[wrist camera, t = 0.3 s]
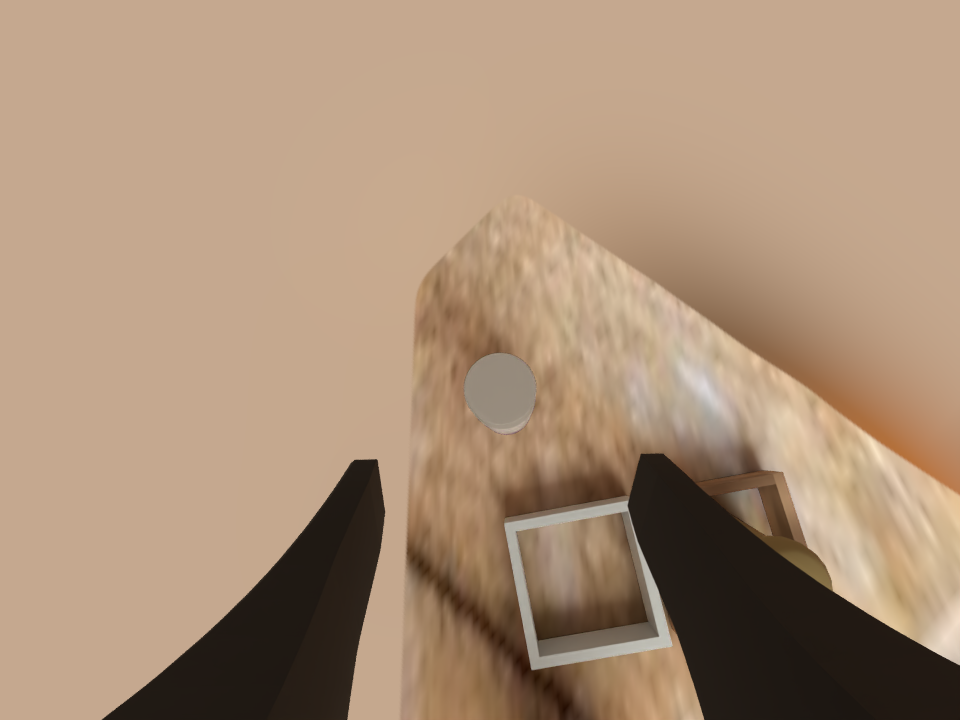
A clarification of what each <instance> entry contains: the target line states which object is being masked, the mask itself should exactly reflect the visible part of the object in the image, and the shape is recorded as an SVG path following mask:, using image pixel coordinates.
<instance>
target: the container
mask: <svg viewBox="0 0 960 720" xmlns="http://www.w3.org/2000/svg"><path fill="white" fill-rule="evenodd" d="M464 396H465V400H466V402H467V405H468V406H469V408H470V410H471V411H472V412H473V413H474V415H475V416H476V417H477V418H478V420H479V421H480V422H482V423H483V424H484V425H485V426H487V427H488V428H490V429H491V430H492V431H494V432H496V433H499V434H504V435H509V434H514V433H516V432H518V431H520V430H521V429H523V428H524V427H525V425H526V424H527V423H528V421H529V418H530V416H531V414H532V411H533V409H534V405H535V398H536V381H535V377H534V375H533V372H532V371H531V369H530V368H529V366H528V365H527V364H526V363H525V362H524V361H523V360H521V359H520V358H518V357H516V356H514V355H511V354H508V353H493V354H489V355H486V356H484V357H482V358H480V359H479V360H478V361H476V362H475V363H474V364H473V365H472V367H471V368H470V369H469V371H468V373H467V375H466V378H465V382H464Z"/></svg>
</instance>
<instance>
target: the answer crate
mask: <svg viewBox="0 0 960 720" xmlns="http://www.w3.org/2000/svg"><path fill="white" fill-rule="evenodd" d="M629 498H630V497H629V496H627V495H626V496H621V497H615V498H610V499H605V500H599V501H594V502H588V503H583V504H577V505H572V506H567V507H561V508H556V509H550V510H545V511H539V512H534V513H529V514H523V515H518V516H512V517H507V518H505V520H504V526H505V532H506V537H507V542H508V548H509V553H510V558H511V563H512V569H513V574H514V579H515V585H516V590H517V595H518V601H519V606H520V611H521V617H522V622H523V627H524V633H525V638H526V643H527V649H528V654H529V659H530V665H531V670H536V669H542V668H548V667H554V666H560V665H566V664H571V663H577V662H583V661H589V660H595V659H601V658H607V657H613V656H619V655H625V654H631V653H637V652H643V651H649V650H655V649H661V648H667V647H672V642H671V638H670V634H669V630H668V626H667V622H666V618H665V615H664V611H663V607H662V603H661V599H660V595H659V591H658V588H657V586H656V584H655V581H654V579H653V577H652V574H651V572H650V570H649V567H648V565H647V563H646V560H645V558H644V555H643V553H642V551H641V548H640V546H639V543H638V541H637V538H636V534H635V531H634V528H633V524H632V521H631V517H630V513H629V510H628V506H627V505H628V501H629ZM620 512H621V513H622V518H623V522H624V526H625V530H626V534H627V538H628V542H629V546H630V550H631V554H632V559H633V563H634V567H635V571H636V575H637V579H638V583H639V587H640V591H641V595H642V599H643V604H644V608H645V612H646V616H647V620H648V622H644V623H638V624H632V625H626V626H620V627H615V628H609V629H603V630H597V631H591V632H585V633H580V634H574V635H568V636H562V637H556V638H550V639H545V640H539V641H538V639H537V634H536V629H535V624H534V619H533V614H532V608H531V603H530V598H529V593H528V588H527V583H526V577H525V572H524V567H523V562H522V557H521V551H520V546H519V541H518V536H517V531H522V530H527V529H533V528H538V527H544V526H549V525H555V524H560V523H566V522H571V521H577V520H582V519H588V518H593V517H599V516H604V515H609V514H615V513H620Z"/></svg>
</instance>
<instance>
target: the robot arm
mask: <svg viewBox="0 0 960 720" xmlns="http://www.w3.org/2000/svg"><path fill="white" fill-rule="evenodd" d="M627 506H628V510H629V513H630V517H631V521H632V524H633V528H634V531H635V534H636V538H637V541H638V543H639V546H640V548H641V551H642V553H643V555H644V558H645V560H646V563H647V565H648V567H649V570H650V572H651V574H652V577H653V579H654V581H655V584H656V586H657V588H658V591H659V593H660V595H661V598H662V600H663V602H664V604H665V607H666V609H667V611H668V614H669V616H670V618H671V621H672V623H673V626H674V628H675V631H676V633H677V636H678V638H679V641H680V644H681V647H682V650H683V653H684V656H685V659H686V662H687V665H688V668H689V671H690V674H691V677H692V680H693V683H694V687H695V690H696V693H697V697H698V700H699V703H700V706H701V710H702V713H703V716H704V720H960V665H958V664H956V663H954V662H952V661H950V660H948V659H946V658H944V657H942V656H940V655H939V654H937V653H935V652H933V651H931V650H929V649H928V648H926V647H924V646H922V645H921V644H919V643H917V642H915V641H914V640H912V639H910V638H908V637H907V636H905V635H903V634H901V633H899V632H898V631H896V630H894V629H893V628H891V627H889V626H887V625H886V624H884V623H882V622H881V621H879V620H877V619H876V618H874V617H872V616H871V615H869V614H867V613H866V612H864V611H863V610H861V609H860V608H858V607H856V606H855V605H853V604H852V603H850V602H849V601H847V600H845V599H844V598H842V597H841V596H839V595H838V594H836V593H834V592H833V591H831V590H830V589H828V588H827V587H825V586H824V585H822V584H821V583H819V582H818V581H816V580H815V579H814V578H812V577H811V576H809V575H808V574H807V573H805V572H804V571H802V570H801V569H800V568H798V567H797V566H795V565H794V564H793V563H791V562H790V561H788V560H787V559H786V558H784V557H783V556H782V555H780V554H779V553H778V552H776V551H775V550H774V549H772V548H771V547H770V546H768V545H767V544H766V543H765V542H763V541H762V540H761V539H760V538H758V537H757V536H756V535H755V534H753V533H752V532H751V531H750V530H748V529H747V528H746V527H745V526H744V525H742V524H741V523H740V522H739V521H738V520H736V519H735V518H734V517H733V516H732V515H731V514H729V513H728V512H727V511H726V510H725V509H724V508H722V507H721V506H720V505H719V504H718V503H717V502H716V501H715V500H713V499H712V498H711V497H710V496H709V495H708V494H707V493H706V492H704V491H703V490H702V489H701V488H700V487H699V486H698V485H697V484H696V483H695V482H694V481H692V480H691V479H690V478H689V477H688V476H687V475H686V474H685V473H684V472H683V471H682V470H681V469H679V468H678V467H677V466H676V465H675V464H674V463H673V462H672V461H671V460H670V459H668V458H667V457H666V456H665V455H664V454H641V456H640V460H639V463H638V467H637V471H636V475H635V479H634V482H633V486H632V490H631V494H630V498H629V501H628V505H627ZM384 517H385V508H384V501H383V495H382V488H381V481H380V474H379V467H378V460H377V459H375V460H354V461H353V462H352V463H351V464H350V465H349V467H348V469H347V470H346V472H345V473H344V475H343V476H342V478H341V480H340V481H339V482H338V484H337V485H336V487H335V488H334V490H333V491H332V493H331V494H330V495H329V497H328V498H327V500H326V501H325V503H324V504H323V505H322V507H321V508H320V509H319V511H318V512H317V513H316V515H315V516H314V517H313V519H312V520H311V521H310V523H309V524H308V525H307V527H306V528H305V529H304V531H303V532H302V533H301V534H300V535H299V536H298V538H297V539H296V540H295V541H294V543H293V544H292V545H291V546H290V548H289V549H288V550H287V551H286V552H285V554H284V555H283V556H282V557H281V558H280V559H279V561H278V562H277V563H276V564H275V565H274V566H273V567H272V568H271V570H270V571H269V572H268V573H267V574H266V575H265V576H264V577H263V578H262V579H261V580H260V581H259V582H258V584H257V585H256V586H255V587H254V588H253V589H252V590H251V591H250V592H249V593H248V594H247V595H246V596H245V597H244V598H243V599H242V600H241V601H240V602H239V603H238V604H237V605H236V606H235V607H234V608H233V609H232V610H231V611H230V612H229V613H228V614H227V615H226V616H225V617H224V618H223V619H222V620H220V622H218V623H217V624H216V625H215V626H214V627H213V628H212V629H211V630H210V631H209V632H208V633H207V634H205V635H204V636H203V637H202V638H201V639H200V640H199V641H198V642H196V643H195V644H194V645H193V646H192V647H191V648H189V649H188V650H187V651H186V652H185V653H184V654H182V655H181V656H180V657H179V658H178V659H177V660H175V661H174V662H173V663H172V664H171V665H170V666H169V667H167V668H166V669H165V670H164V671H163V672H162V673H160V674H159V675H158V676H157V677H156V678H154V679H153V680H152V681H151V682H149V683H148V684H147V685H146V686H145V687H143V688H142V689H141V690H139V691H138V692H137V693H136V694H134V695H133V696H132V697H130V698H129V699H128V700H127V701H125V702H124V703H123V704H121V705H120V706H119V707H118V708H116V709H115V710H114V711H112V712H111V713H110V714H108V715H107V716H106V717H105V718H103V719H102V720H347V717H348V710H349V703H350V696H351V689H352V682H353V675H354V668H355V662H356V655H357V650H358V645H359V639H360V635H361V631H362V626H363V622H364V618H365V614H366V609H367V605H368V601H369V596H370V592H371V588H372V584H373V580H374V575H375V571H376V567H377V562H378V558H379V554H380V549H381V542H382V534H383V526H384Z"/></svg>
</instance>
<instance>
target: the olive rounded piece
mask: <svg viewBox="0 0 960 720" xmlns="http://www.w3.org/2000/svg"><path fill="white" fill-rule="evenodd" d="M732 516H733V515H732ZM733 517H734V518H735V519H736V520H738V521H739V522H740V523H741V524H742V525H744V526H745V527H746V528H747V529H748V530H750V531H751V532H752V533H753V534H755V535H756V536H757V537H758V538H760V539H761V540H762V541H763V542H765V543H766V544H767V545H768V546H770V547H771V548H772V549H774V550H775V551H776V552H778V553H779V554H780V555H782V556H783V557H784V558H786V559H787V560H788V561H790V562H791V563H793V564H794V565H795V566H797V567H798V568H800V569H801V570H802V571H804V572H805V573H807V574H808V575H809V576H811V577H812V578H814V579H815V580H816V581H818V582H819V583H821V584H822V585H824V586H825V587H827V588H828V589H830V590H831V591H833V590H832V581H831V578H830V575H829V573H828V571H827V569H826V566H825V565H824V563H823V562H822V561H821V560H820V558H819V557H818V556H817V555H816V554H815V553H814V552H813V551H811V550H810V549H808V548H807V547H806V546H804V545H803V544H801V543H800V542H797V541H794V540H791V539H789V538H786V537H782V536H765V535H764V534H762V533H760V532H759V531H757V530H756V529H754V528H752V527H751V526H749V525H748V524H746V523H744V522H743V521H741V520H739V519H738V518H736V517H735V516H733Z"/></svg>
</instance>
